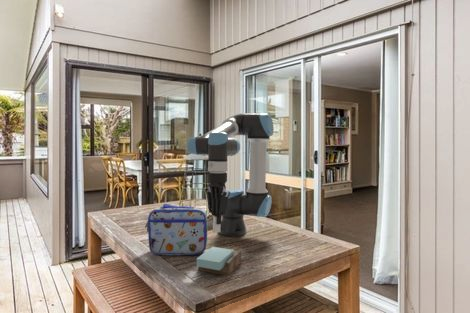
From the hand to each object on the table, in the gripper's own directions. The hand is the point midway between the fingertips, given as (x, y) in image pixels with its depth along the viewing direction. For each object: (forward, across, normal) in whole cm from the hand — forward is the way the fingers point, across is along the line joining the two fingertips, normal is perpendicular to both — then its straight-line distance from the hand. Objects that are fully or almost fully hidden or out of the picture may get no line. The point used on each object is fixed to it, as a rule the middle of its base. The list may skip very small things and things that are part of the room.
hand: (216, 231), depth 127 cm
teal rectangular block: (+12, 0, 0) cm, 12 cm away
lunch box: (+15, -26, -2) cm, 30 cm away
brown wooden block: (+15, -2, +4) cm, 16 cm away
